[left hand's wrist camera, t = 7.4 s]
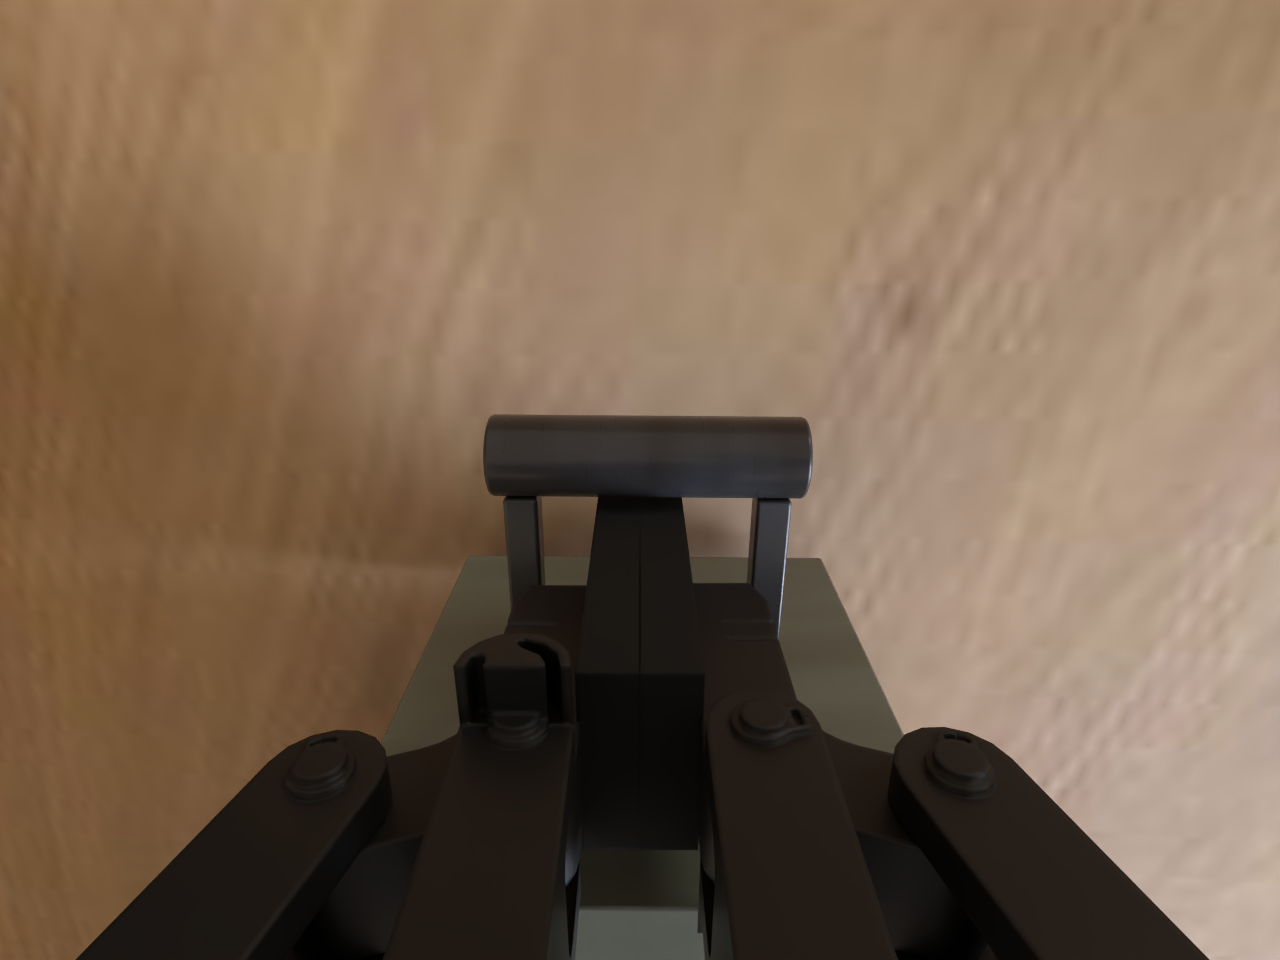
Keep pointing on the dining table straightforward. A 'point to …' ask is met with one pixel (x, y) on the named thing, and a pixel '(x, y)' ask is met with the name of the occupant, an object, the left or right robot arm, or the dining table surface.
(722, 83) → the dining table surface
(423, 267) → the dining table surface
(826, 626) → the drawer
